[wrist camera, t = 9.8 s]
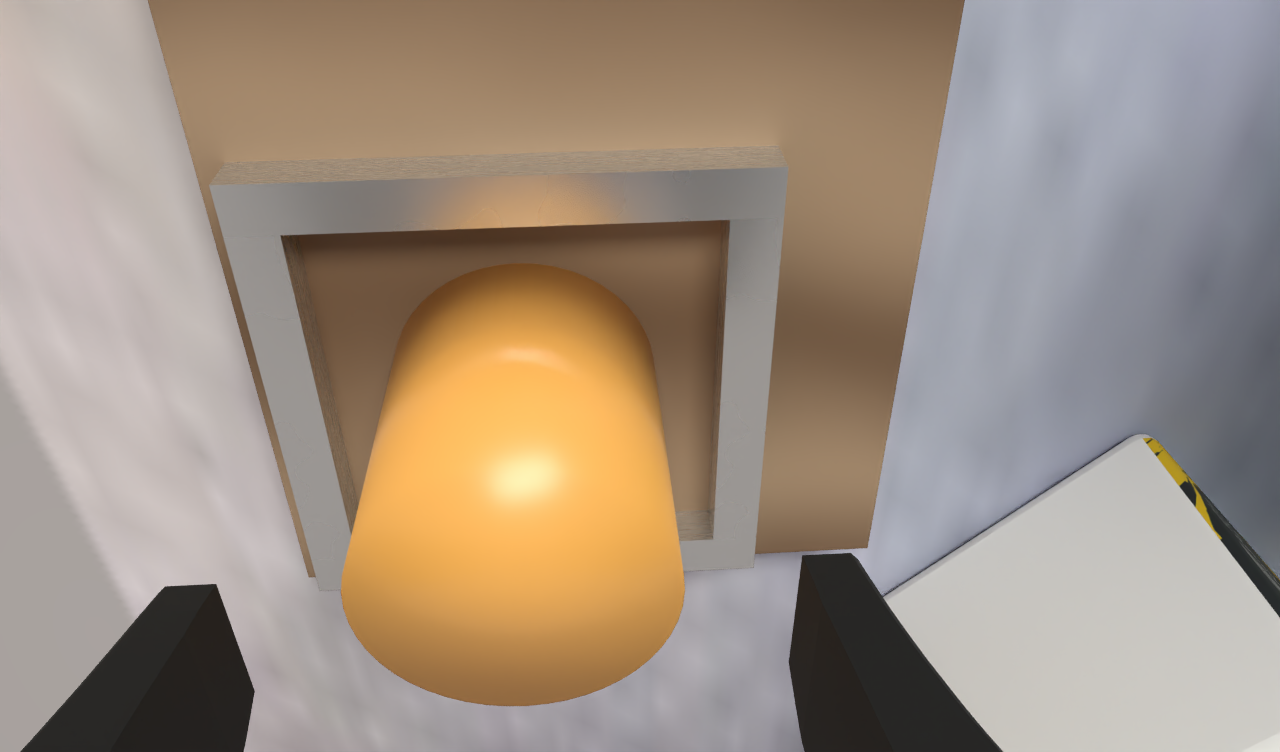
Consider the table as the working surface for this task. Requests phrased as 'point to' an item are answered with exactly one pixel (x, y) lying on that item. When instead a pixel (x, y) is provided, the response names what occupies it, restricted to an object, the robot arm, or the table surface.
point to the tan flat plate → (609, 253)
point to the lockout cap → (517, 495)
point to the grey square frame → (499, 198)
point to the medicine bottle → (1107, 618)
